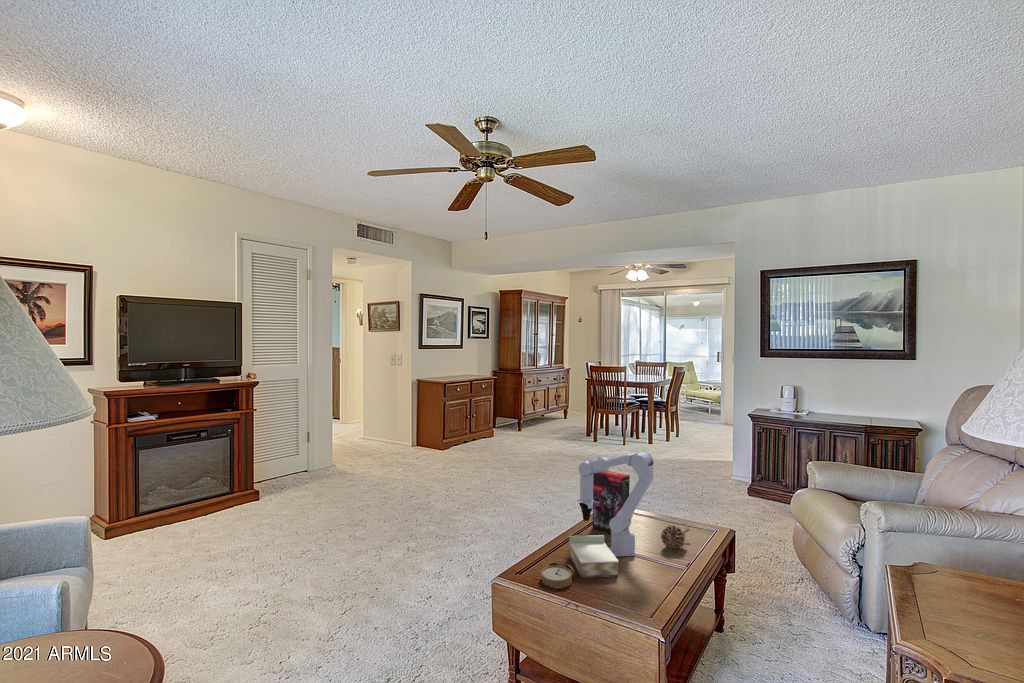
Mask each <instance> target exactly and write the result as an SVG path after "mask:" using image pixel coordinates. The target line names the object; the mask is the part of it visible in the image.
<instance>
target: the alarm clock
mask: <svg viewBox="0 0 1024 683" xmlns="http://www.w3.org/2000/svg"><path fill="white" fill-rule="evenodd" d="M574 575H575V570H574V568H573V566H571V565H570V564H567V563H558V562H556V561H552V562H550V563H549V564H548V565H547V566H545V567H543V568H542V569H541V571H540V576H541V578H540V581H541V580H542V582H541V584H543V583H544V584H546V585H549V586H552V587H566V588H568V587H570V586H571V585H572V582H573V577H574ZM544 584H543V585H544ZM569 585H570V586H569ZM567 586H568V587H567Z"/></svg>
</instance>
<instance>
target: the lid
mask: <svg viewBox="0 0 1024 683" xmlns="http://www.w3.org/2000/svg"><path fill="white" fill-rule="evenodd" d="M568 543H569V552H570V551H571V547H572V549H573V551H574V552H575V554H576V556H577V558H578V559H579V561H580V563H581V564H591V563H618V564H619V563H620V562H619V559H618V558H617V556H614V554H613V553H612V552H611V550H610V549H609V548H610V547H608V545H607V544H606V543H605V535H604V534H598V535H597V534H596V535H594V534H593V535H590V534H588V535H587V534H586V535H569V542H568Z"/></svg>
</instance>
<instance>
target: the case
mask: <svg viewBox="0 0 1024 683" xmlns="http://www.w3.org/2000/svg"><path fill="white" fill-rule="evenodd" d="M569 552H570V553H569V554H570V556H569V557H570V560H571V562H572V564H573V566H574V567H575V569H576V570H577V573H578V574H579V577H580V578H581V579H583V578H585V579H586V578H589V579H590V578H617V577H619V563H591V564H581V563H580V561H579V559H578V558H577V556H576V554H575V552H574V551H573V549H572V547H571V551H569Z"/></svg>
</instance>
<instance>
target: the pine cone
mask: <svg viewBox="0 0 1024 683" xmlns="http://www.w3.org/2000/svg"><path fill="white" fill-rule="evenodd" d="M688 532H691V529H690V527H689V526H686V527H685V528H684V530H682V529H681V528H680V527H676V525H670V524H668V525H666V527H664V528H663V529H662V531H660V535H661V536H660V540H661V543H663V545H665V547H666V548H668V549H672V550H673V549H679V548H681V546H683V545H684V544H685V541H686V539H685V538H686V535H685V534H687V533H688Z"/></svg>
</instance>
